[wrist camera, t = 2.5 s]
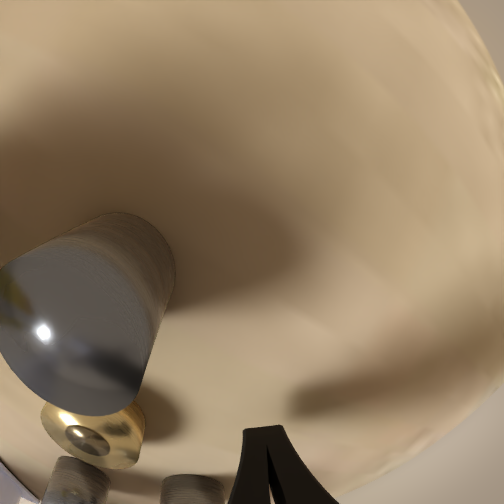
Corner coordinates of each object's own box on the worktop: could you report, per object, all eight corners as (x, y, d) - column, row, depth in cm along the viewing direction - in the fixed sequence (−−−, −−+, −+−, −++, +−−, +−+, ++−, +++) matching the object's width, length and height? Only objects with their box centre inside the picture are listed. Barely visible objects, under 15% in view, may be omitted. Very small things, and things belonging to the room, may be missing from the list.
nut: (79, 433, 11) (67, 462, 9) (43, 368, 10) (22, 397, 8) (157, 441, 11) (152, 475, 9) (129, 373, 10) (116, 411, 8)
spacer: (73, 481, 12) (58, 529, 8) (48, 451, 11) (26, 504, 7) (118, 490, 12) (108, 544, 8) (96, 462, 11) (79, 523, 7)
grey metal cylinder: (86, 321, 9) (28, 405, 5) (63, 220, 8) (-31, 263, 4) (183, 317, 9) (162, 421, 5) (167, 206, 8) (115, 247, 4)
